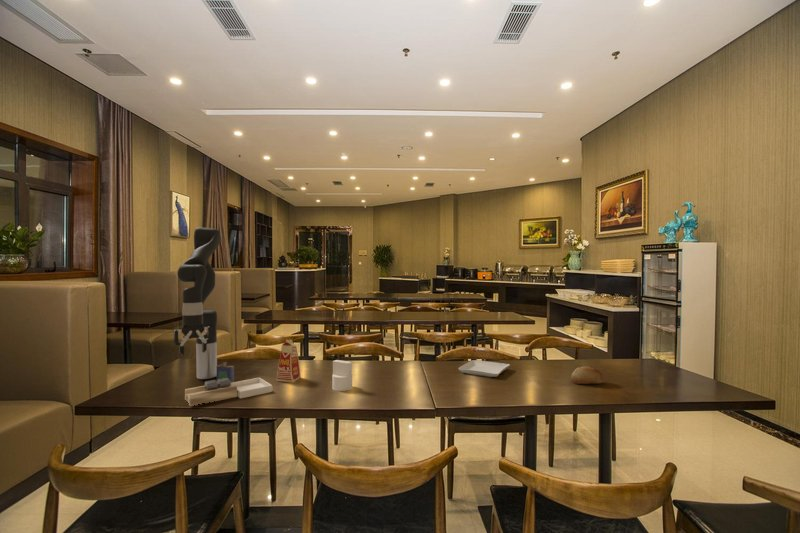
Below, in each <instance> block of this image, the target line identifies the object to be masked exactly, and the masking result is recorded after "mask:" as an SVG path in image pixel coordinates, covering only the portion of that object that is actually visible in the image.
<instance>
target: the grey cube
mask: <svg viewBox="0 0 800 533" xmlns="http://www.w3.org/2000/svg"><path fill="white" fill-rule="evenodd" d="M204 386H205V391H209V390H215V389H218V382H217V381H216V379H212V380H211V379H210V380H206V381H204Z"/></svg>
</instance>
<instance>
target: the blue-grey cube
mask: <svg viewBox="0 0 800 533" xmlns="http://www.w3.org/2000/svg"><path fill="white" fill-rule="evenodd" d="M217 382H218V389H220V388H225V387H230V379H228V378H223V379H217Z"/></svg>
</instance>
